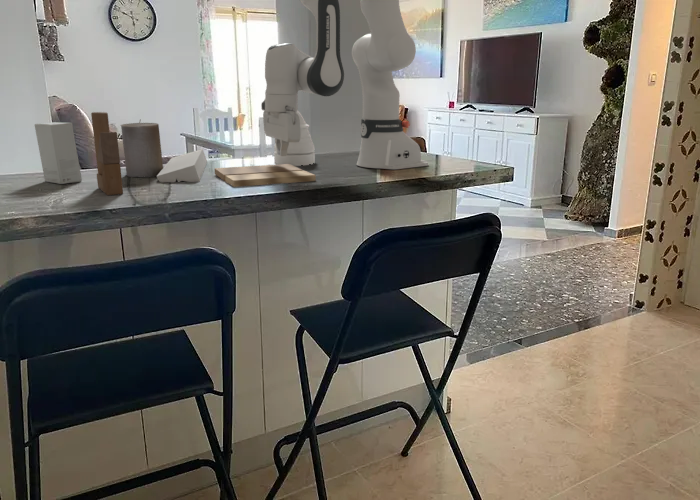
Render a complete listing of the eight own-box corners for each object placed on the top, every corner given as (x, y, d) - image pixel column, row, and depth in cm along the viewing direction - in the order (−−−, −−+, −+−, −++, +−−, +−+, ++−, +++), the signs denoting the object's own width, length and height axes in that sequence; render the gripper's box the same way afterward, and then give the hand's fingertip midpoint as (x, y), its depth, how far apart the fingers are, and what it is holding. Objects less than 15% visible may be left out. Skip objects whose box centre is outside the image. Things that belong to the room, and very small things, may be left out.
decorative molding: (163, 193, 150) (200, 182, 151) (156, 176, 148) (194, 165, 149) (177, 172, 182) (207, 163, 183) (171, 157, 180) (202, 148, 181)
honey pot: (276, 166, 177) (274, 105, 172) (272, 160, 189) (271, 103, 184) (317, 165, 180) (317, 105, 174) (311, 159, 192) (311, 103, 186)
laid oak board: (304, 176, 160) (304, 170, 159) (315, 180, 153) (315, 174, 152) (225, 181, 150) (225, 175, 150) (233, 186, 143) (233, 180, 143)
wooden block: (107, 195, 132) (98, 114, 126) (97, 188, 140) (89, 112, 135) (123, 194, 133) (115, 114, 128) (113, 186, 142) (105, 111, 137)
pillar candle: (156, 170, 166) (150, 117, 162) (169, 175, 159) (163, 119, 154) (121, 174, 160) (114, 119, 156) (133, 179, 153) (126, 121, 149)
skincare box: (82, 181, 148) (75, 122, 144) (59, 185, 143) (51, 124, 139) (64, 178, 153) (57, 120, 148) (42, 181, 148) (33, 122, 144)
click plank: (289, 169, 169) (289, 163, 169) (302, 175, 161) (302, 169, 160) (214, 174, 160) (214, 168, 159) (224, 180, 151) (223, 174, 151)
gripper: (306, 107, 152) (306, 159, 156) (280, 103, 170) (280, 151, 174) (283, 107, 149) (284, 160, 153) (259, 103, 167) (260, 151, 171)
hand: (282, 155), depth 164 cm, fingers closed
